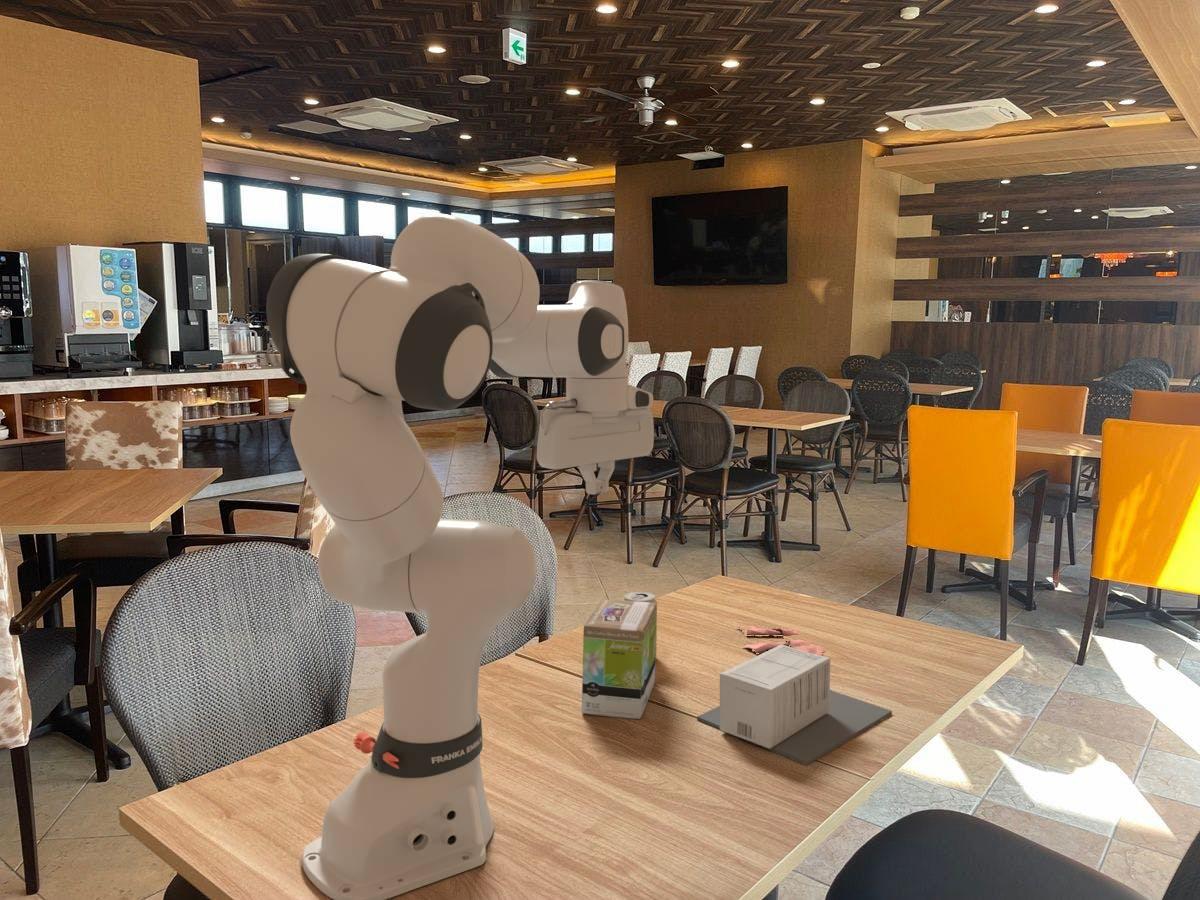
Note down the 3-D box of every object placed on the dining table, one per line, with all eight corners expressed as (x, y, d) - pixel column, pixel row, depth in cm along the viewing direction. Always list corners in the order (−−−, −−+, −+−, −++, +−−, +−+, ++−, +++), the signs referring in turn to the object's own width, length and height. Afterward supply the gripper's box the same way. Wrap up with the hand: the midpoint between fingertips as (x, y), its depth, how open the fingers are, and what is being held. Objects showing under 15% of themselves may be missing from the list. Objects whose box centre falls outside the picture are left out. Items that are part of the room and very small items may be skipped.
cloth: (837, 664, 163) (838, 651, 163) (718, 663, 164) (718, 650, 164) (813, 626, 184) (813, 615, 183) (707, 625, 184) (707, 614, 184)
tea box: (643, 721, 139) (643, 629, 137) (580, 715, 141) (580, 625, 139) (656, 683, 153) (657, 600, 151) (599, 678, 155) (599, 596, 153)
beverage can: (662, 656, 165) (663, 593, 164) (645, 667, 160) (646, 603, 158) (632, 649, 169) (633, 588, 167) (615, 660, 163) (615, 597, 162)
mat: (806, 765, 125) (806, 762, 125) (696, 719, 139) (697, 716, 139) (891, 713, 141) (891, 710, 141) (785, 677, 156) (785, 674, 155)
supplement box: (770, 751, 128) (832, 713, 140) (772, 690, 127) (833, 657, 138) (717, 730, 135) (780, 696, 146) (718, 671, 133) (781, 642, 145)
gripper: (556, 403, 117) (557, 506, 119) (661, 394, 131) (660, 486, 133) (526, 400, 122) (527, 499, 124) (630, 392, 136) (630, 481, 138)
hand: (597, 492), depth 128 cm, fingers closed
